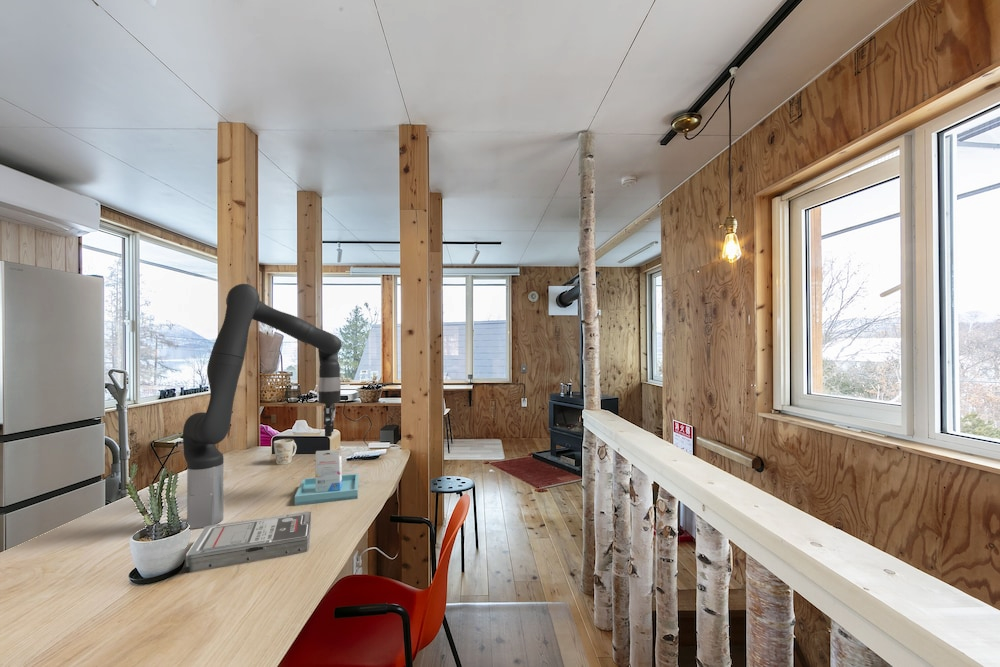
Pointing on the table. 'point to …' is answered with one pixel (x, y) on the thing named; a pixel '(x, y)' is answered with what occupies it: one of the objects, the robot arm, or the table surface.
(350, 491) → the tray
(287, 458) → the mug
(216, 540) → the hard drive
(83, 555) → the table surface
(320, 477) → the ink box
